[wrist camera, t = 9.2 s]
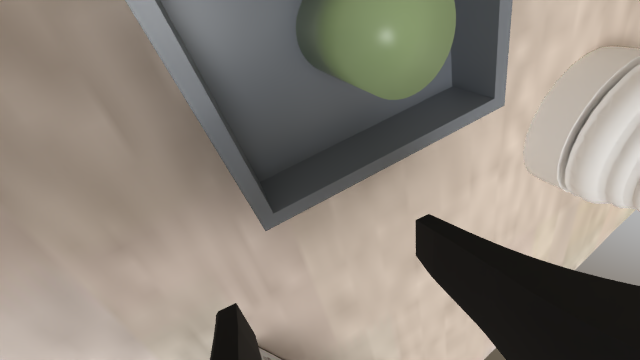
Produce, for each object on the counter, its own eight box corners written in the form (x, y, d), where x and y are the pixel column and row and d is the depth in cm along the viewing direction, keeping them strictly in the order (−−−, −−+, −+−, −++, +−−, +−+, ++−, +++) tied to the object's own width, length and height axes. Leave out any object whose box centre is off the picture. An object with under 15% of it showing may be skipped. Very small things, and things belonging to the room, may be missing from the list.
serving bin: (251, 193, 19) (265, 231, 16) (85, -92, 11) (43, -135, 7) (455, 90, 21) (504, 105, 18) (447, -207, 13) (533, -277, 10)
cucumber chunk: (312, 86, 16) (366, 118, 12) (282, -3, 14) (336, -9, 9) (379, 54, 17) (457, 72, 12) (362, -37, 14) (453, -59, 10)
